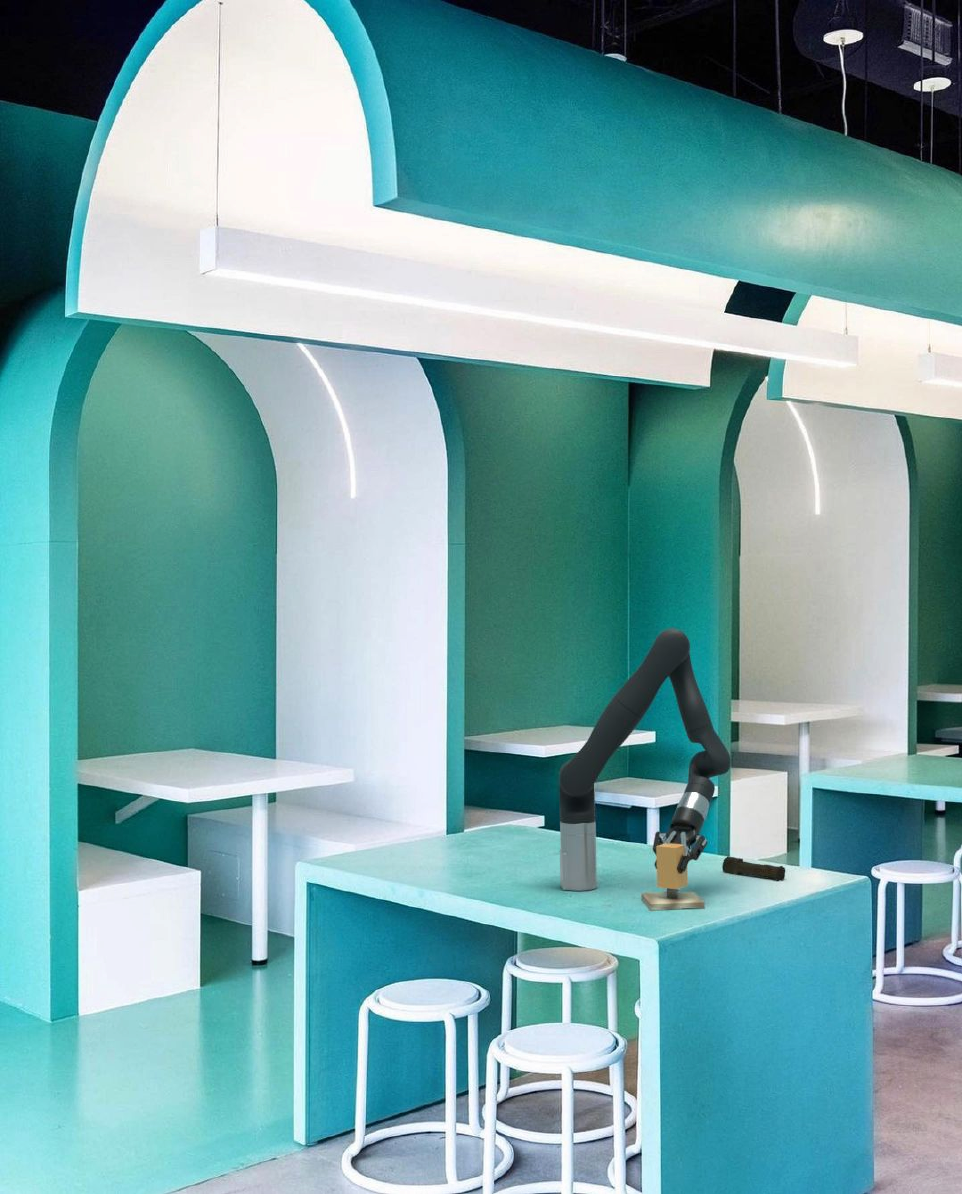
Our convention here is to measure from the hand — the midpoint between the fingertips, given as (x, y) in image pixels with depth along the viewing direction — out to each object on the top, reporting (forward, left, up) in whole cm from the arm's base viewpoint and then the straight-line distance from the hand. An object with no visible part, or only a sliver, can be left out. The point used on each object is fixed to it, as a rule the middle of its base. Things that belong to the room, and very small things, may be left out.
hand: (668, 870), depth 336 cm
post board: (+1, +1, -8) cm, 9 cm away
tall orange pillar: (+1, +1, -4) cm, 5 cm away
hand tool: (+28, +31, -9) cm, 43 cm away
